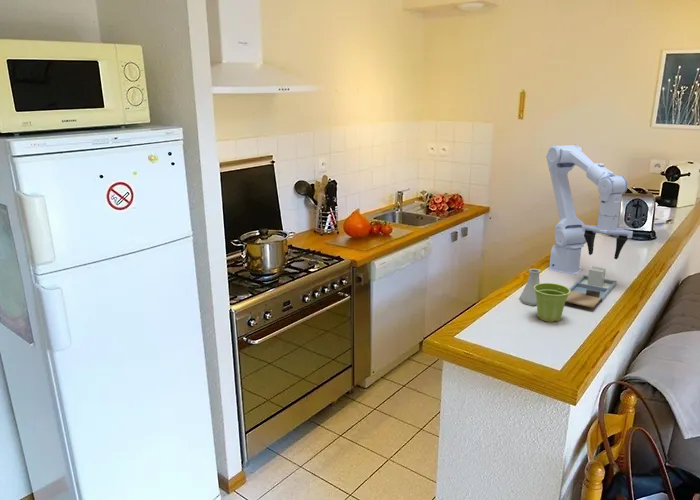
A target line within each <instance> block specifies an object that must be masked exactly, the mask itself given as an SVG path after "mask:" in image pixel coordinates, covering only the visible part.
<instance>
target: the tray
mask: <svg viewBox="0 0 700 500" xmlns="http://www.w3.org/2000/svg"><path fill="white" fill-rule="evenodd" d="M588 276H589V275H584V274H583V275H582V276H581V277H579V279H578V280H577V281H576V282H575V283H574V284H573V285H571V286H570V287H569V289H570V291H575V292H580V293H585V294H586V290H587V289H590V290H595V291H600V297H602V298H601V300H600V301H599V302H598V303H602V302H604V300H605V299H606V298H607V297H608V295H609V294H610V293H611V292H612V290H614V288H615V287H616V285H617V280H611V279H608V278H605V279H604V285H603V286H602V287H598V286H593V285H588Z"/></svg>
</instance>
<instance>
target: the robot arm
mask: <svg viewBox="0 0 700 500" xmlns="http://www.w3.org/2000/svg"><path fill="white" fill-rule="evenodd" d="M545 157H546V162H547V166H548V171H549V173H550V179H551V183H552V188H553V193H554V198H555V203H556V207H557V211H558V216H559V221H558V223H557V224H555V226H553V227H554V241H555V242H556V243H555V244H553V245H552V247H551V250H550V256H549V257H550V258H549V266H548V271H553V272H557V273H564V274H569V275H575V276H576V275H578V274H579V273H580V272H581V271H582V270H583V268H582V267H580V264H581V257H582V255H581V253H582V248H584V246H585V245H586V246H587V249H588V255H589V256H592V255H593V254H594V245H595V239H596V235H597V234H601V235H609V236H616V237H617V238H616V247H615V252H614V258H613V259H614V260H617V259H619V255H620V254H621V252H622V249H623V247H624V246H625V244H626V242H627V241H628V240H629V239H632V238H633V234H634V231H633V230H629V229H628V230H627V229H623V228H619V227H618V225H619V217H620V212H621V204H622V198H623V194H625V193H626V192H627V190H628V188H629V187H628V185H629V184H628V180H627V179H626V177H625V176H624V175H621V174H619V175H617V174H615V173H614V172H613V171H612V170H610V169H608V168H607V167H605V166H606V165H605V164H604V163H603V162H601V163H600V162H599V163H598V162H596V163H594V162H593V161H592V159H590V158H589V157H588V156H587V155H586V153H584V151H583V148H582V147H580V145H578V144H570V145H569V144H568V145H552V146H550V147H549V149H548V151H547V153H546V156H545ZM575 166H577V167H578V168H580V169H581V170H583V171H584V172H586V173H585V174H586V175H585V176H586V177H587V179H588V180H590V182H592V184H594V185H595V186H596V187H597V190H598V193H599V200H600V204H599V210H598V217H597V218H598V219H597V225H595V224H594V225H593V224H591V225H590V224H585V223H584V221H583V220H581V219H580V218H578V217H577V214H576V210H575V204H574V198H573V195H572V190H571V186H570V182H569V177H568V175H569V174H568V173H569V172H571V171H573V169H574V167H575Z"/></svg>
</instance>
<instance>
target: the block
mask: <svg viewBox="0 0 700 500" xmlns="http://www.w3.org/2000/svg"><path fill="white" fill-rule="evenodd" d="M606 271H607V270H606V268H603V267H598V266H597V267H596V266H592V267H590V269H589V271H588V275H587V276H588V285H593V286H598V287H602V286H603V285H604V279H606Z"/></svg>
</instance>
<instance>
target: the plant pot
mask: <svg viewBox="0 0 700 500" xmlns="http://www.w3.org/2000/svg"><path fill="white" fill-rule="evenodd" d="M534 290H535V294H536V298H537V305H536V314H537V315H536V316H537V318H539V319H540V320H542V321H544V322H549V323H550V322H551V323H552V322H559V321H560V320H561V319H562V316H563V312H564V308H565V306H566V305H565V304H566V302H565V301H566V299H567V297H568V294H570V287H567V286H565V285H563V284H558V283H553V282H551V283H550V282H542V283H541V282H540V284H537V285H535V286H534Z"/></svg>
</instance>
